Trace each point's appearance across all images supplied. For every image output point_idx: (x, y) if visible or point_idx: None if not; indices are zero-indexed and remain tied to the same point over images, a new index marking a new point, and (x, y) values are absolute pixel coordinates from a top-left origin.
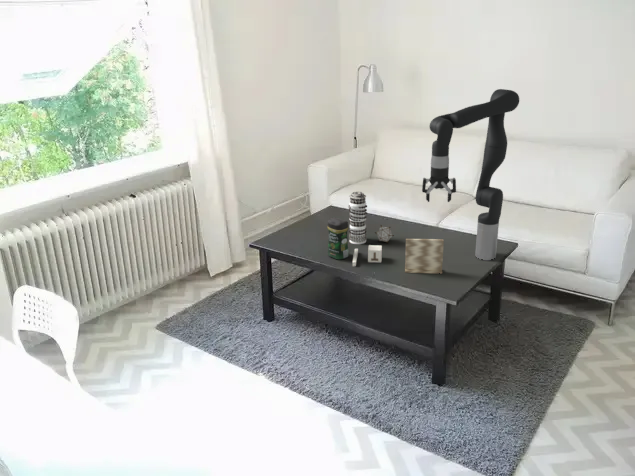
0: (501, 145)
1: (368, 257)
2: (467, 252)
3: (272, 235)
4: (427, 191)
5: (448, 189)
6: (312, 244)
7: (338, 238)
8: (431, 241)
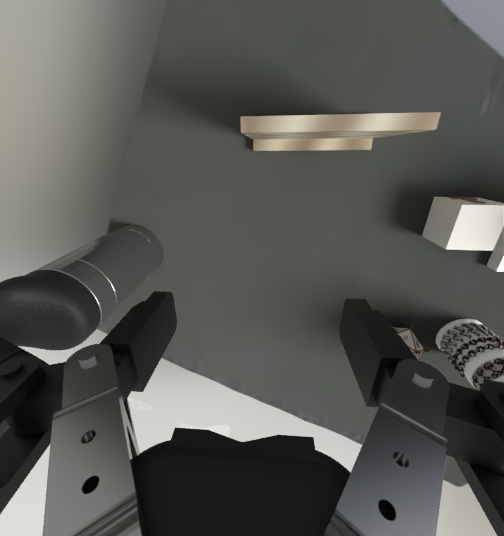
0: None
1: (488, 200)
2: (182, 274)
3: None
4: (442, 391)
5: (81, 403)
6: None
7: None
8: (301, 116)
